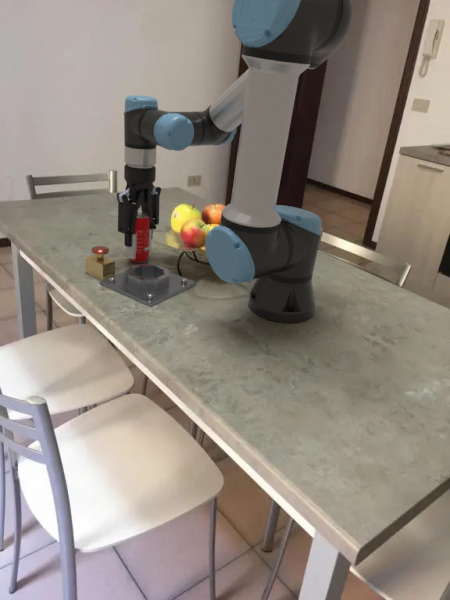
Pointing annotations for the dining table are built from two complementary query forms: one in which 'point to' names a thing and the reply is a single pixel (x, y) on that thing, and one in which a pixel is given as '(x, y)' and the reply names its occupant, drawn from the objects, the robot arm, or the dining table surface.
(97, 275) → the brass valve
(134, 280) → the flange socket
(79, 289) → the dining table surface
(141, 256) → the beverage can
